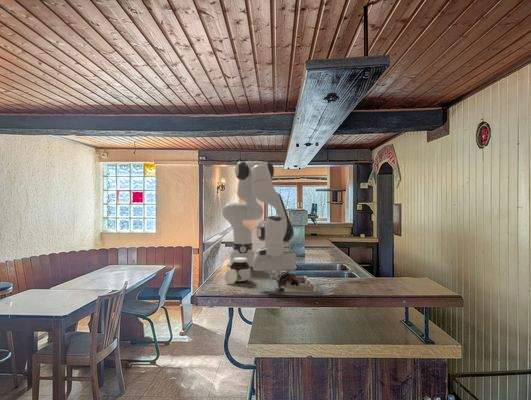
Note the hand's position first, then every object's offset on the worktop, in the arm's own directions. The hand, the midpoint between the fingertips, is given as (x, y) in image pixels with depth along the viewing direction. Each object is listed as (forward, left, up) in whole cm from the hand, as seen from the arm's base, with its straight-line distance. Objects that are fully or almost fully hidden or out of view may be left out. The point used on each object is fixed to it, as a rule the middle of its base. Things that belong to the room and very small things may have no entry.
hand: (274, 279), depth 165 cm
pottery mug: (+3, +7, -4) cm, 8 cm away
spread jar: (-11, -17, -4) cm, 20 cm away
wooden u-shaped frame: (-1, +10, -3) cm, 11 cm away
